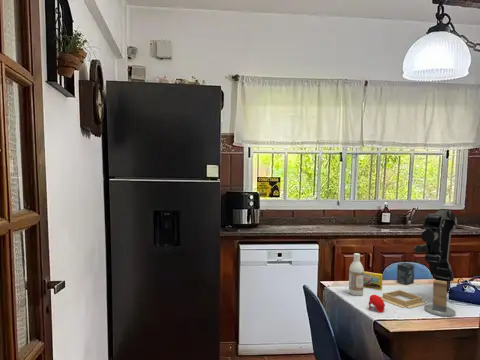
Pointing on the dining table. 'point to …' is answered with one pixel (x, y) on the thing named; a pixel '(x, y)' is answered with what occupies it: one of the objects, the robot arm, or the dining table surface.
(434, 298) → the walnut box
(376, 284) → the candy box
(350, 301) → the dining table surface
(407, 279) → the box
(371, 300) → the red rounded piece
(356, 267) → the bath foam
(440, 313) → the plate
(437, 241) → the robot arm
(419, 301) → the wooden square frame
